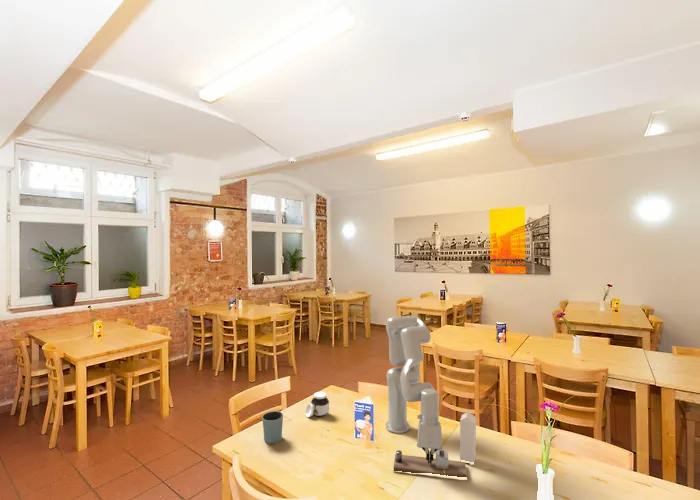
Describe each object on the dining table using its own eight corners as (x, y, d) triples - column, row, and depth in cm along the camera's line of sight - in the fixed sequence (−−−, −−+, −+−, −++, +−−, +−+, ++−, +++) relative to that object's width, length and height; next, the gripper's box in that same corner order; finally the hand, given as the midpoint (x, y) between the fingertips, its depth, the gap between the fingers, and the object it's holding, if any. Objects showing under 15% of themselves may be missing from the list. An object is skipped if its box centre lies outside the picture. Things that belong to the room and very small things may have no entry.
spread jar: (331, 414, 205) (331, 393, 205) (319, 422, 196) (319, 400, 195) (314, 409, 211) (314, 389, 211) (302, 416, 202) (302, 396, 202)
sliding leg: (435, 461, 156) (435, 447, 156) (447, 462, 155) (447, 448, 155) (436, 468, 151) (436, 454, 151) (448, 469, 150) (448, 455, 150)
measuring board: (395, 458, 162) (395, 453, 162) (464, 466, 156) (464, 461, 156) (393, 472, 152) (393, 467, 152) (467, 481, 146) (467, 476, 146)
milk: (460, 462, 159) (459, 412, 159) (462, 455, 164) (461, 407, 164) (474, 465, 156) (474, 415, 156) (476, 458, 162) (475, 409, 161)
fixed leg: (396, 459, 158) (396, 450, 158) (402, 459, 157) (402, 450, 157) (396, 462, 156) (396, 453, 155) (401, 463, 155) (401, 453, 155)
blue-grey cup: (285, 434, 182) (285, 411, 182) (279, 445, 172) (279, 420, 172) (266, 433, 183) (266, 410, 183) (259, 444, 173) (259, 419, 173)
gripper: (411, 421, 152) (411, 464, 152) (448, 425, 148) (448, 469, 149) (412, 413, 159) (412, 454, 159) (447, 416, 156) (447, 458, 156)
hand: (429, 461), depth 154 cm, fingers closed
